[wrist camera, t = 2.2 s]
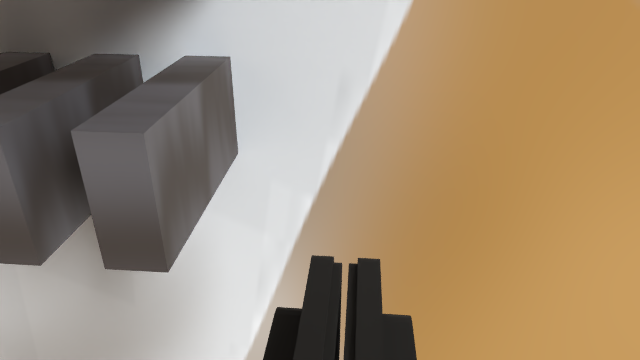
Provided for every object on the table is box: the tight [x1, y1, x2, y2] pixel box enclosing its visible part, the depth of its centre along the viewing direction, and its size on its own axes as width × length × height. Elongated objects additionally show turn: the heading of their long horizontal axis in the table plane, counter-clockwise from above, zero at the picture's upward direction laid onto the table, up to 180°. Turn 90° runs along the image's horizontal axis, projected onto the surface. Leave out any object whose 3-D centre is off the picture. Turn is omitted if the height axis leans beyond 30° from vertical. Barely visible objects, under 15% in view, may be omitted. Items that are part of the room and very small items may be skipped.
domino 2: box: [71, 56, 238, 272], centre depth 19 cm, size 5×2×10 cm, turn 0°
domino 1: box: [0, 54, 143, 266], centre depth 20 cm, size 5×2×10 cm, turn 0°
